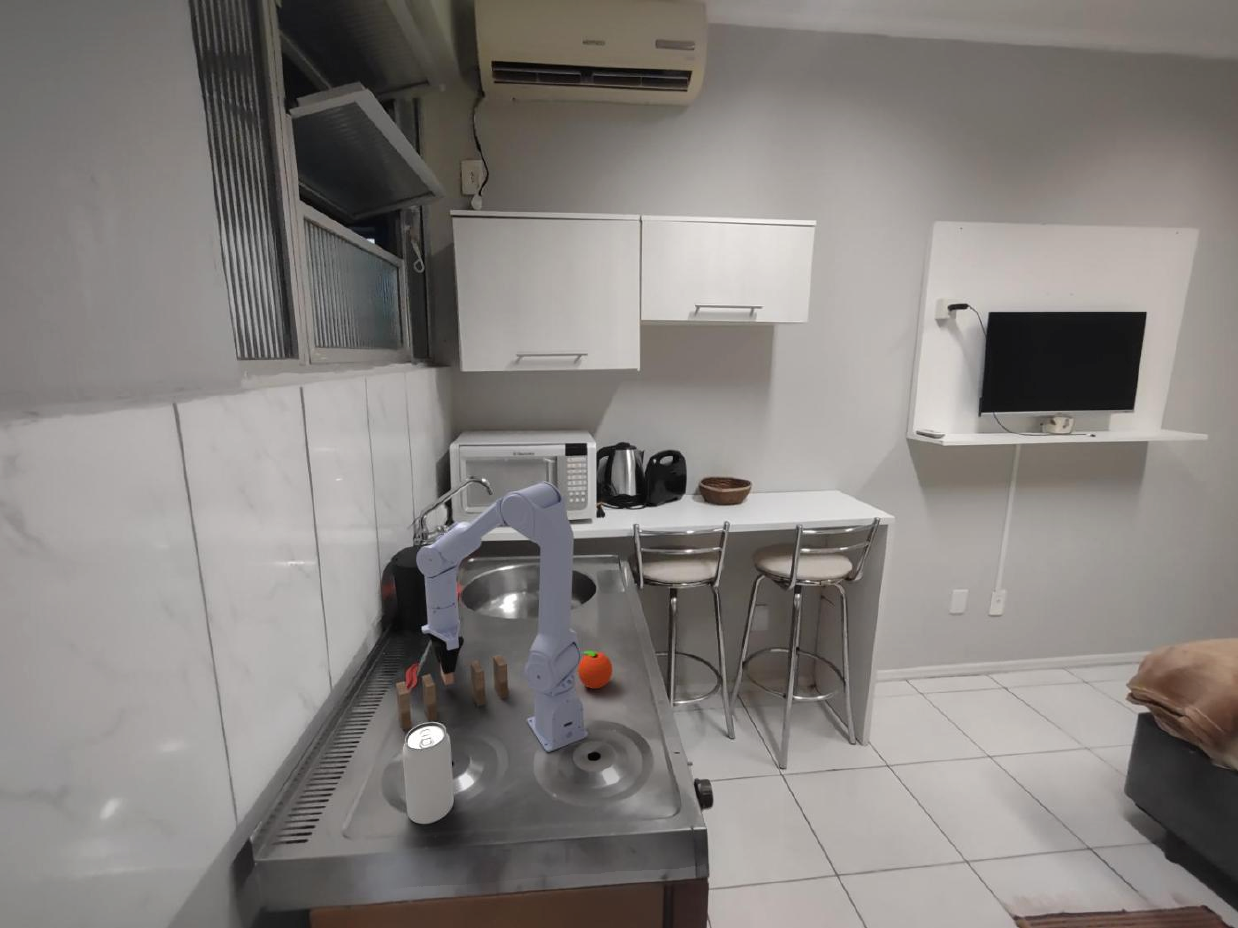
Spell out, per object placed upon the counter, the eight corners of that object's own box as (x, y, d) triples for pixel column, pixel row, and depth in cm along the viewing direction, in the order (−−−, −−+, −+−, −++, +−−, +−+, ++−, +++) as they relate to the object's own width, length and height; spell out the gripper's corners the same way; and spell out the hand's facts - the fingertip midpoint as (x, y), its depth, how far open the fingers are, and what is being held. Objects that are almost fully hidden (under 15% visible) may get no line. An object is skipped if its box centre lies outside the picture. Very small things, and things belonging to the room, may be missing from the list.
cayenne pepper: (406, 698, 104) (405, 689, 104) (384, 696, 105) (383, 687, 105) (435, 665, 116) (435, 657, 116) (416, 663, 117) (415, 655, 116)
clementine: (567, 685, 108) (566, 653, 107) (589, 670, 114) (589, 639, 112) (597, 700, 103) (597, 666, 102) (619, 683, 109) (619, 651, 108)
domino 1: (411, 727, 95) (408, 692, 94) (402, 730, 95) (399, 695, 93) (407, 715, 99) (404, 681, 98) (398, 718, 98) (395, 683, 97)
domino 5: (508, 696, 105) (506, 663, 103) (500, 698, 104) (499, 665, 102) (501, 686, 108) (500, 654, 107) (494, 688, 107) (492, 656, 106)
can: (408, 832, 74) (402, 756, 72) (406, 798, 80) (400, 726, 78) (456, 817, 77) (452, 743, 74) (451, 785, 82) (447, 715, 80)
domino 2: (437, 719, 98) (435, 684, 96) (428, 722, 97) (426, 687, 96) (432, 707, 101) (430, 673, 100) (424, 710, 100) (421, 676, 99)
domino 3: (453, 682, 105) (451, 649, 103) (445, 685, 104) (443, 652, 103) (448, 672, 108) (446, 641, 107) (441, 675, 107) (438, 642, 106)
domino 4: (485, 703, 102) (484, 670, 101) (477, 706, 101) (476, 672, 100) (479, 692, 106) (478, 660, 104) (472, 695, 105) (470, 662, 104)
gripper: (413, 593, 107) (418, 655, 109) (428, 622, 95) (433, 691, 97) (449, 586, 111) (453, 646, 113) (468, 613, 98) (472, 680, 101)
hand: (446, 666), depth 105 cm, fingers closed on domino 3, 4 cm apart
